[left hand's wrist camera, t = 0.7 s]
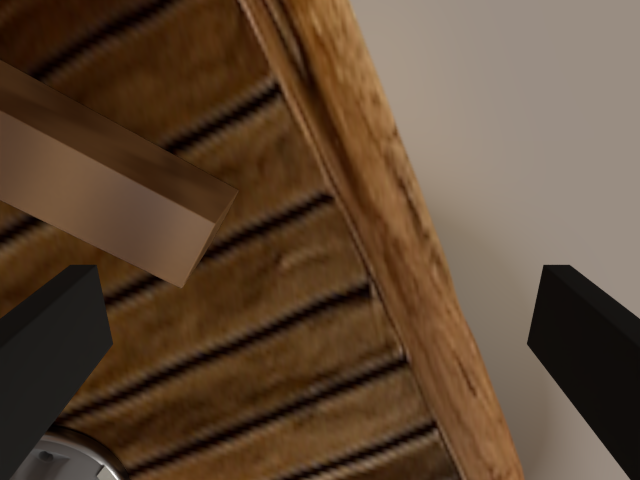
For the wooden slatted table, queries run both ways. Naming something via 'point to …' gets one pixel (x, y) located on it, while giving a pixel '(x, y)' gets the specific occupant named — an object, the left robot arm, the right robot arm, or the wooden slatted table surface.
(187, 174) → the bar
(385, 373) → the wooden slatted table surface
